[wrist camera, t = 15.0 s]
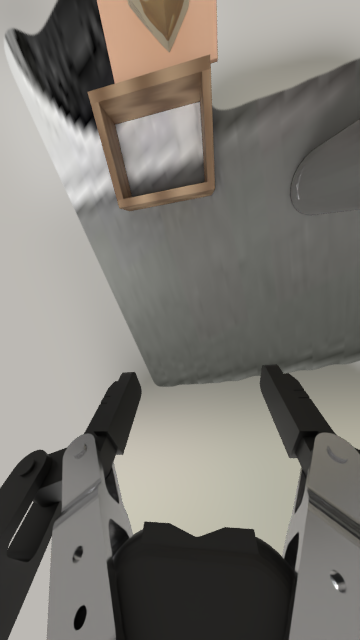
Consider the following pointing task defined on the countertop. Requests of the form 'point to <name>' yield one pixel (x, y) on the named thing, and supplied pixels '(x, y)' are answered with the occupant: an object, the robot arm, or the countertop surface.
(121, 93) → the frame
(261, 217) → the countertop surface
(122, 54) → the terracotta tile
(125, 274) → the countertop surface
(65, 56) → the countertop surface
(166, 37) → the skincare box
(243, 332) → the countertop surface
